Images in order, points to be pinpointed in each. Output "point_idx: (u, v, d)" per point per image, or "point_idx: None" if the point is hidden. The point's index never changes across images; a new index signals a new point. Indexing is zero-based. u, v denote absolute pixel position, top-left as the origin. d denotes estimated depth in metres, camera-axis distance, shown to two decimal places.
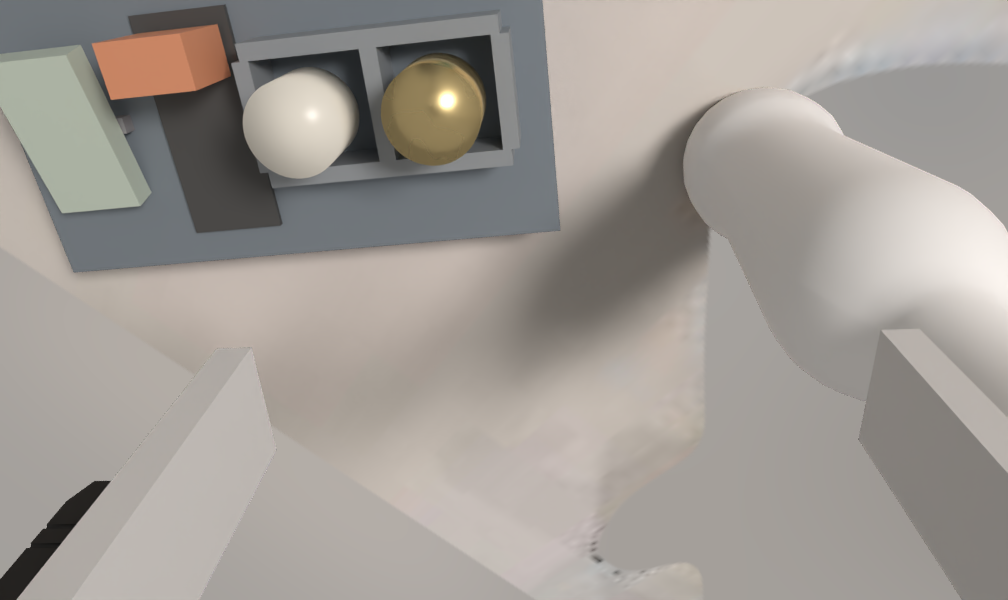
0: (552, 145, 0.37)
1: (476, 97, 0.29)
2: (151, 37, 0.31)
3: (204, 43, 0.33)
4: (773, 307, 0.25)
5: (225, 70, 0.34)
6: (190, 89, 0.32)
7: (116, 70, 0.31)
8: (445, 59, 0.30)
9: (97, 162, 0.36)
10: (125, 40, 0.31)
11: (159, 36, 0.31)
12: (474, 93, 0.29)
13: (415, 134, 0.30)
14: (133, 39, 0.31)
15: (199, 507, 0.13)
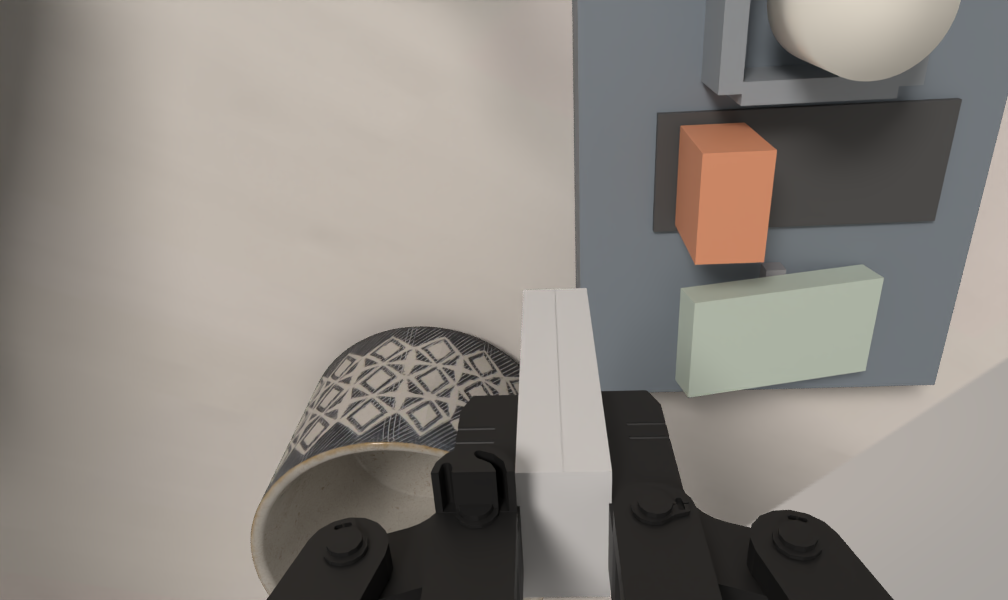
0: None
1: None
2: (700, 191, 0.24)
3: (709, 137, 0.25)
4: None
5: (739, 126, 0.26)
6: (773, 157, 0.23)
7: (730, 245, 0.25)
8: None
9: (818, 311, 0.29)
10: (698, 223, 0.25)
11: (701, 180, 0.24)
12: None
13: None
14: (699, 214, 0.24)
15: None
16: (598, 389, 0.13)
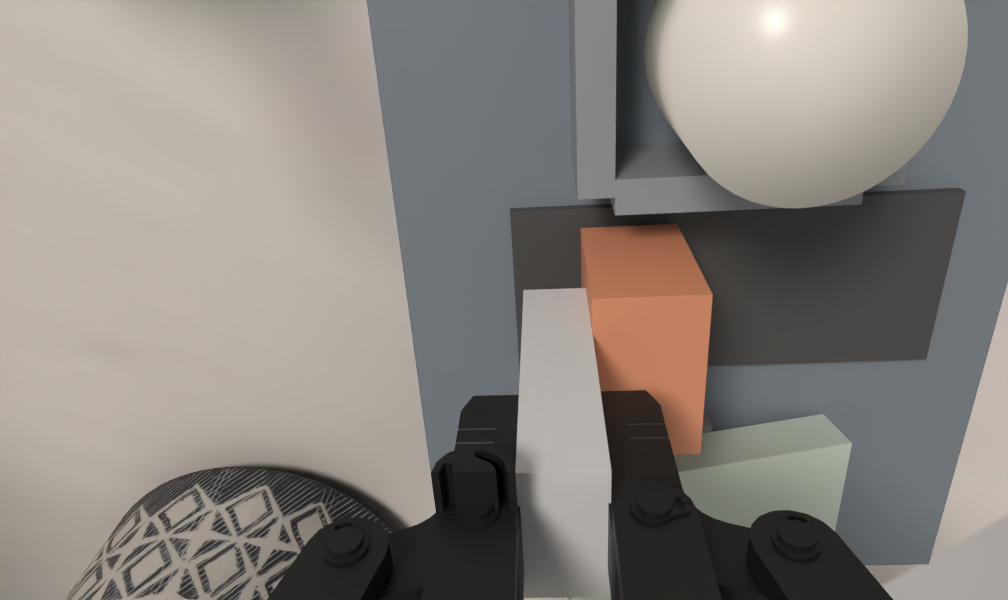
0: None
1: None
2: None
3: (614, 257, 0.16)
4: None
5: (667, 232, 0.17)
6: (708, 305, 0.14)
7: None
8: None
9: (756, 490, 0.20)
10: None
11: (593, 338, 0.15)
12: None
13: None
14: None
15: None
16: (598, 389, 0.13)
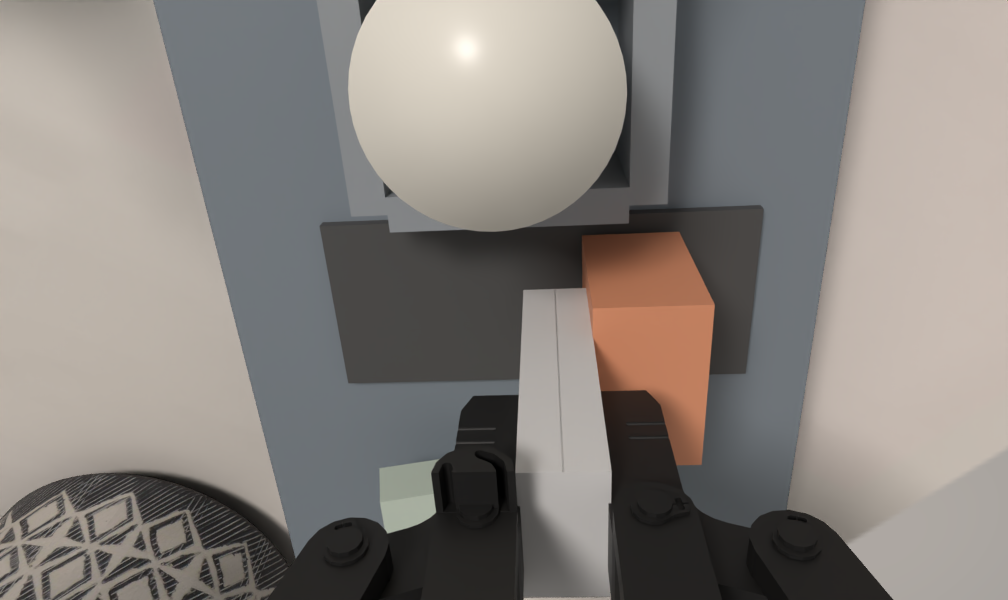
0: None
1: None
2: None
3: (616, 265, 0.16)
4: None
5: (669, 240, 0.17)
6: (710, 315, 0.14)
7: None
8: None
9: None
10: None
11: None
12: None
13: None
14: None
15: None
16: (597, 389, 0.13)
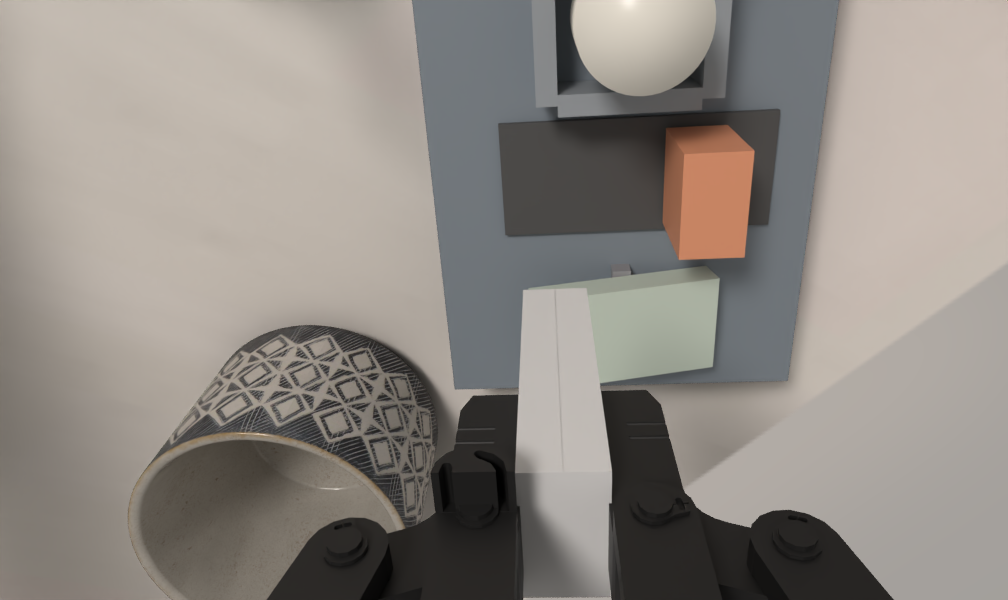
0: None
1: None
2: (683, 189, 0.25)
3: (692, 138, 0.27)
4: None
5: (722, 128, 0.28)
6: (751, 157, 0.25)
7: (712, 241, 0.26)
8: None
9: (658, 309, 0.30)
10: (681, 221, 0.26)
11: (683, 180, 0.25)
12: None
13: None
14: (681, 211, 0.26)
15: None
16: (598, 389, 0.13)
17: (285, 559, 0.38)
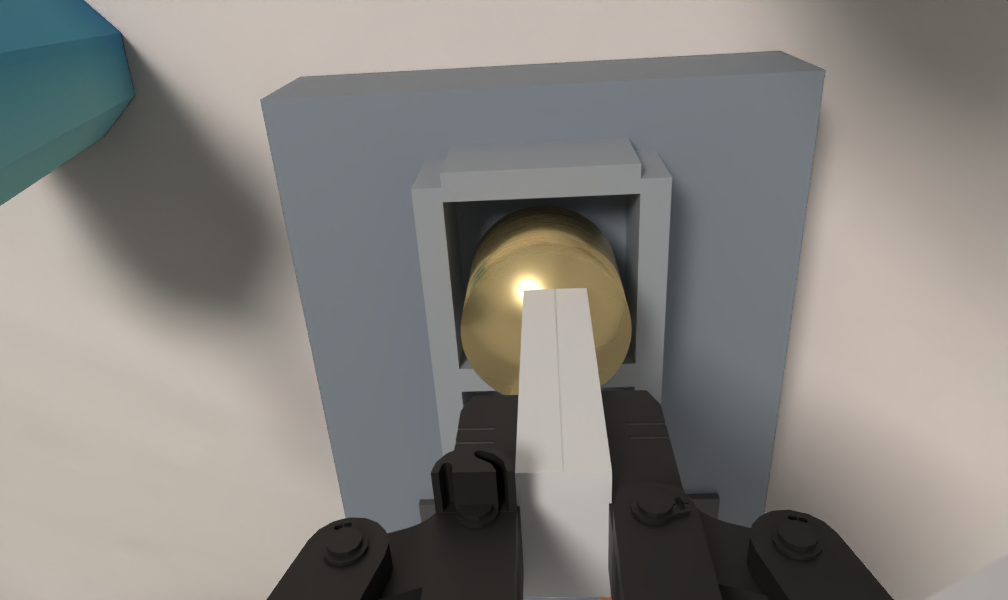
0: (655, 81, 0.20)
1: (519, 258, 0.17)
2: None
3: None
4: None
5: None
6: None
7: None
8: (469, 279, 0.19)
9: None
10: None
11: None
12: (511, 261, 0.17)
13: None
14: None
15: None
16: (598, 389, 0.13)
17: None
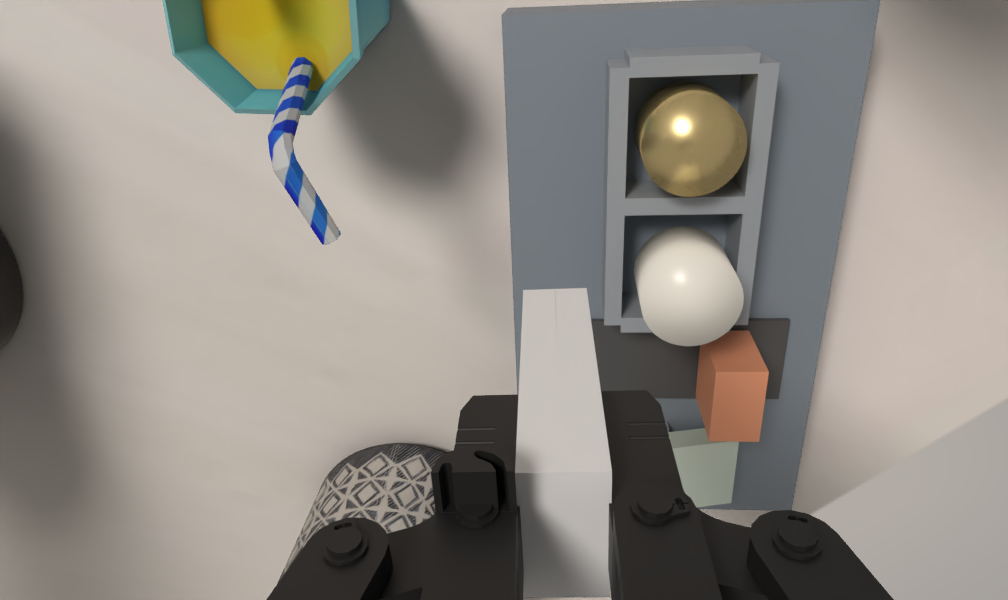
0: (766, 5, 0.30)
1: (683, 97, 0.28)
2: (714, 394, 0.34)
3: (721, 349, 0.35)
4: None
5: (745, 335, 0.36)
6: (766, 376, 0.33)
7: (735, 429, 0.35)
8: (641, 121, 0.31)
9: (690, 462, 0.39)
10: (712, 415, 0.34)
11: (714, 388, 0.34)
12: (678, 99, 0.28)
13: (709, 165, 0.29)
14: (712, 408, 0.34)
15: None
16: (598, 389, 0.13)
17: None
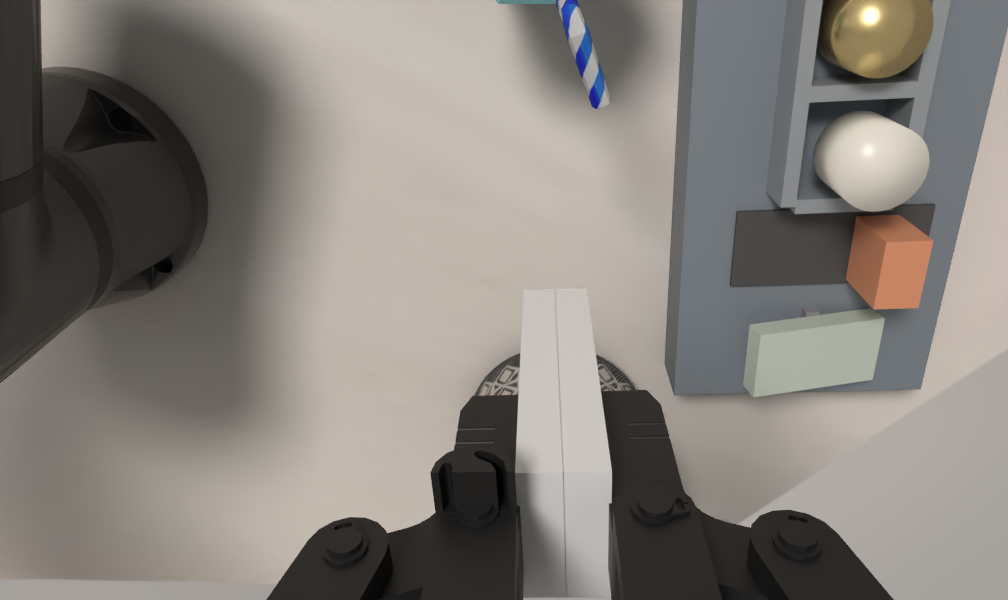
0: None
1: None
2: (882, 264, 0.38)
3: (882, 227, 0.39)
4: None
5: (897, 218, 0.41)
6: (931, 244, 0.38)
7: (898, 297, 0.39)
8: (831, 15, 0.35)
9: (841, 340, 0.43)
10: (878, 284, 0.39)
11: (883, 258, 0.38)
12: None
13: (897, 48, 0.34)
14: (879, 278, 0.39)
15: None
16: (598, 389, 0.13)
17: None
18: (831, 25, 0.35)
